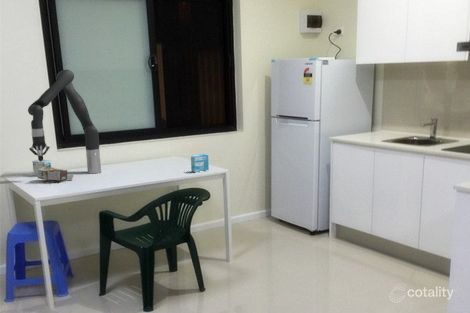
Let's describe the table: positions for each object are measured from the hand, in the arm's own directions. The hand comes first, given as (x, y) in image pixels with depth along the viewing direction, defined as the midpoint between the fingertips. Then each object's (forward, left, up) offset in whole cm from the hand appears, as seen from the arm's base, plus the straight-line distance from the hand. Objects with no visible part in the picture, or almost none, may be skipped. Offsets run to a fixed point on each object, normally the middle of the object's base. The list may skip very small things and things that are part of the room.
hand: (40, 161), depth 291 cm
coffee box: (0, +2, -7) cm, 8 cm away
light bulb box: (+2, -18, -14) cm, 23 cm away
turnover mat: (-11, 0, -13) cm, 17 cm away
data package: (-106, +10, -14) cm, 107 cm away
